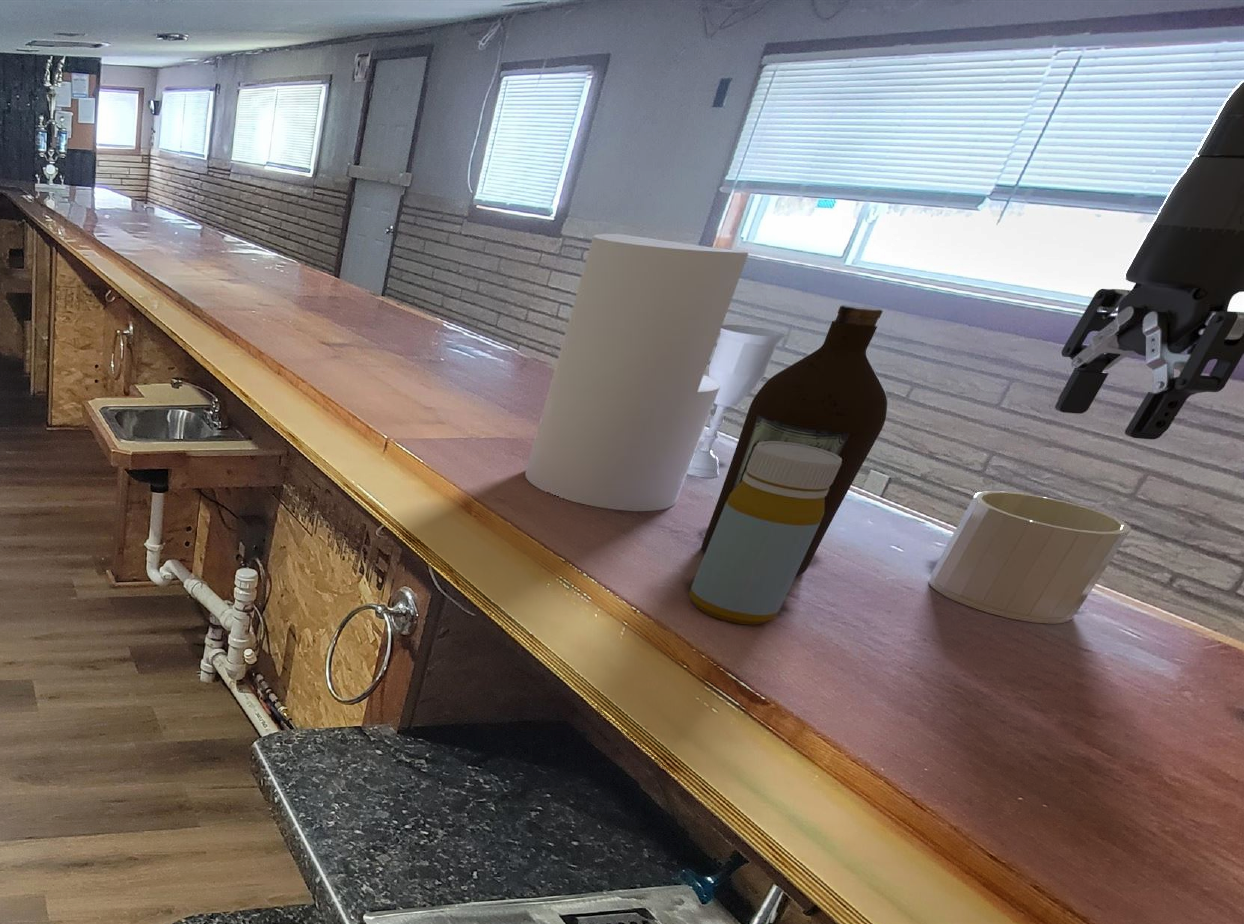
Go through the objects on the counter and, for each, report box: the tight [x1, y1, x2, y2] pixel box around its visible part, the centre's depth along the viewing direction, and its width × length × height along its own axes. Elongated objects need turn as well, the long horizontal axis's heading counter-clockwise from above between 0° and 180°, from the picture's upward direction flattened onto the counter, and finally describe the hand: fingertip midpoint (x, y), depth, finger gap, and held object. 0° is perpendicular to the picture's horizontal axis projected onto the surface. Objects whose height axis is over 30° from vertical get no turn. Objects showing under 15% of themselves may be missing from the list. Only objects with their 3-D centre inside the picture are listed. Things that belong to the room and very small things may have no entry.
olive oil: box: [701, 304, 889, 577], centre depth 88 cm, size 11×11×25 cm
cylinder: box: [524, 233, 749, 512], centre depth 106 cm, size 17×17×28 cm
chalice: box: [687, 324, 786, 479], centre depth 116 cm, size 7×7×18 cm
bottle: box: [688, 441, 842, 626], centre depth 80 cm, size 7×7×15 cm
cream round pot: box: [928, 490, 1132, 625], centre depth 86 cm, size 11×11×9 cm
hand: (1102, 424), depth 80 cm, fingers open, 8 cm apart
